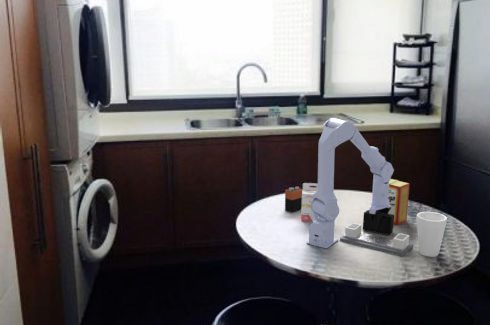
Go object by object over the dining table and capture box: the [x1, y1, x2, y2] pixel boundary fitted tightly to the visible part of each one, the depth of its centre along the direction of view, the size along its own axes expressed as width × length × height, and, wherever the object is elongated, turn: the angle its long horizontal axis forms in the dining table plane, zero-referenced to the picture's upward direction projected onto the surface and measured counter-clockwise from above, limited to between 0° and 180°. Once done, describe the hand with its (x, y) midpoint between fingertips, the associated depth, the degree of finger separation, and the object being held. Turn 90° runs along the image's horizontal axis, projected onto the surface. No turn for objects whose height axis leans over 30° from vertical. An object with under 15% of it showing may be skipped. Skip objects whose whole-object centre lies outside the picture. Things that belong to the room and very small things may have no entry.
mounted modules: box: [344, 222, 410, 249], centre depth 176 cm, size 6×21×3 cm, turn 54°
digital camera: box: [362, 209, 394, 236], centre depth 187 cm, size 10×5×7 cm, turn 58°
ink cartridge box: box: [300, 182, 318, 223], centre depth 198 cm, size 9×5×15 cm, turn 84°
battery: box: [284, 186, 303, 214], centre depth 210 cm, size 4×7×10 cm, turn 129°
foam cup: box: [415, 211, 448, 258], centre depth 167 cm, size 10×9×13 cm
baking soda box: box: [388, 178, 410, 226], centre depth 197 cm, size 10×6×16 cm
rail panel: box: [339, 231, 414, 257], centre depth 176 cm, size 10×23×2 cm, turn 54°
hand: (378, 226), depth 188 cm, fingers closed on digital camera, 5 cm apart
